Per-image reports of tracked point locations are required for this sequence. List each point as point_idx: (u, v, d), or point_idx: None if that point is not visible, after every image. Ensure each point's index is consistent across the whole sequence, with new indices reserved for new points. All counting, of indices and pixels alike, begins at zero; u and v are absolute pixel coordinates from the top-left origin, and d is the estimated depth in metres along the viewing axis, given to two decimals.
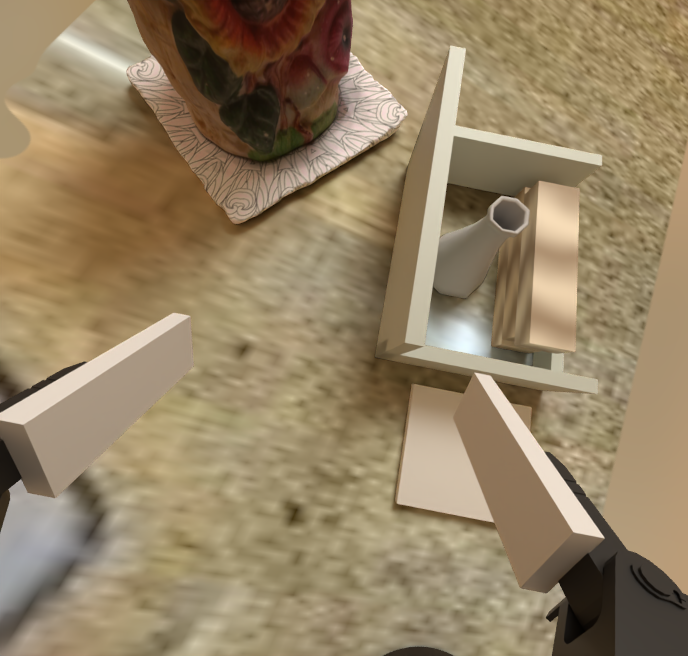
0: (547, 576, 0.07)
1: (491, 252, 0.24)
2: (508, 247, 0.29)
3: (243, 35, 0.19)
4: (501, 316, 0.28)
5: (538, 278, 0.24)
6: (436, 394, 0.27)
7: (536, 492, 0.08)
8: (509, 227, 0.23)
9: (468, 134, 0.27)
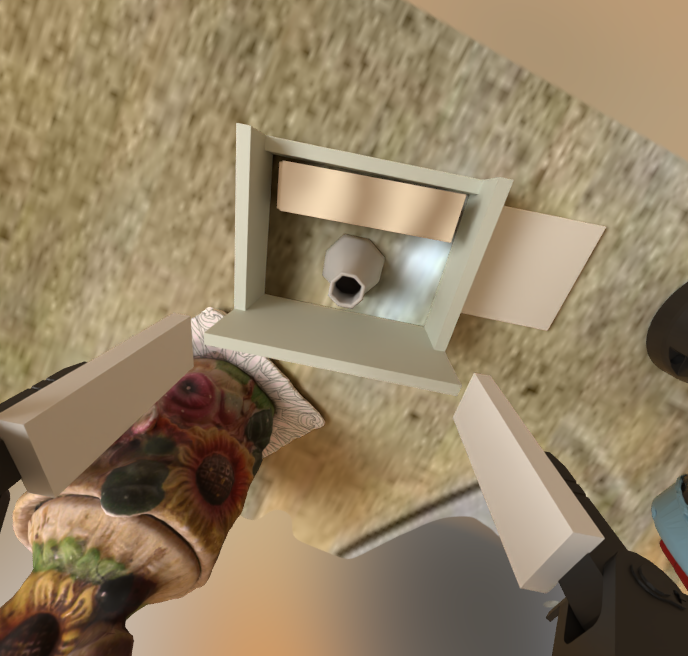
0: (548, 576, 0.07)
1: (365, 278, 0.26)
2: None
3: (241, 469, 0.30)
4: None
5: (387, 225, 0.25)
6: (470, 294, 0.32)
7: (536, 492, 0.08)
8: (346, 271, 0.25)
9: (241, 280, 0.28)
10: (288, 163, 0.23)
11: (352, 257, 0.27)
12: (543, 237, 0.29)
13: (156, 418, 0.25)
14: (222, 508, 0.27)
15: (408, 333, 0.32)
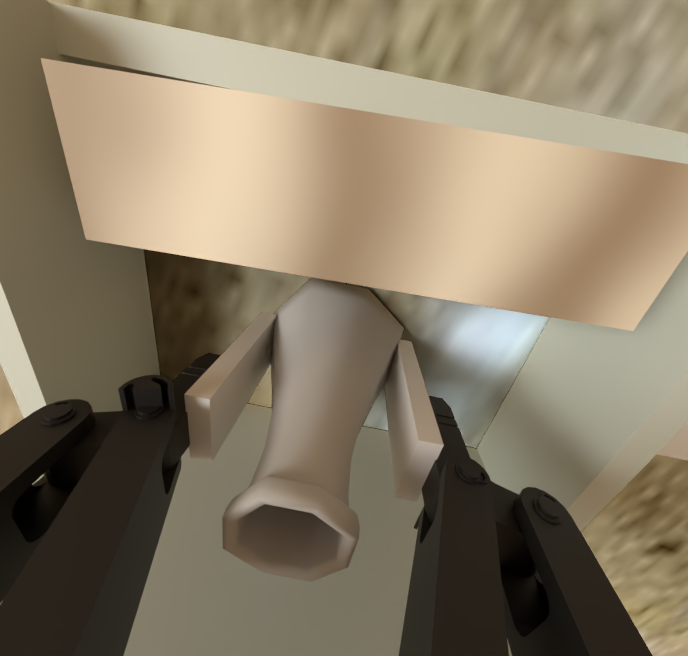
0: (412, 484, 0.09)
1: (358, 432, 0.09)
2: None
3: None
4: None
5: (429, 280, 0.08)
6: None
7: (409, 420, 0.09)
8: (296, 437, 0.07)
9: None
10: (64, 69, 0.06)
11: (323, 356, 0.10)
12: None
13: None
14: None
15: None
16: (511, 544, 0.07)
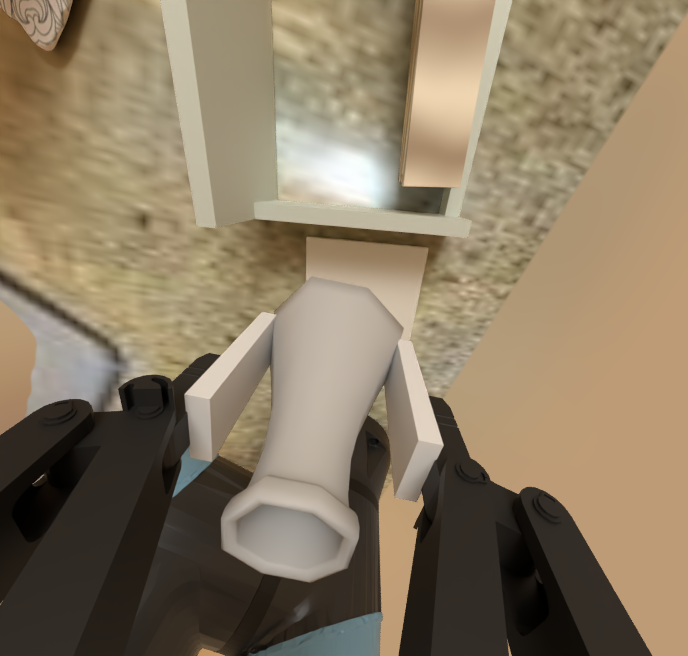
0: (412, 484, 0.09)
1: (357, 432, 0.09)
2: (417, 3, 0.19)
3: None
4: (403, 140, 0.22)
5: (422, 77, 0.17)
6: (329, 245, 0.27)
7: (409, 420, 0.09)
8: (295, 437, 0.07)
9: None
10: None
11: (322, 355, 0.10)
12: (397, 300, 0.29)
13: None
14: None
15: (264, 168, 0.23)
16: (511, 544, 0.07)
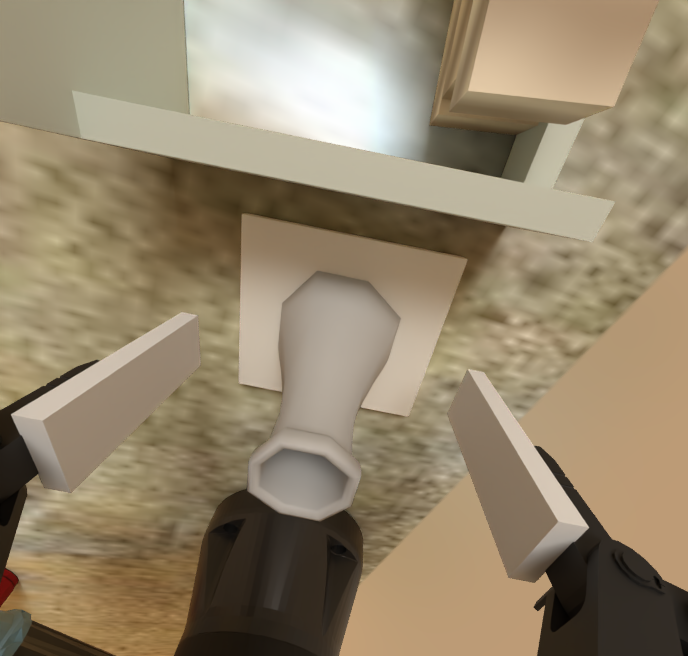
0: (535, 565, 0.07)
1: (359, 403, 0.10)
2: None
3: None
4: (456, 18, 0.10)
5: None
6: (285, 234, 0.14)
7: (524, 484, 0.08)
8: (307, 402, 0.09)
9: None
10: None
11: (328, 338, 0.11)
12: (399, 343, 0.17)
13: None
14: None
15: (132, 32, 0.10)
16: None
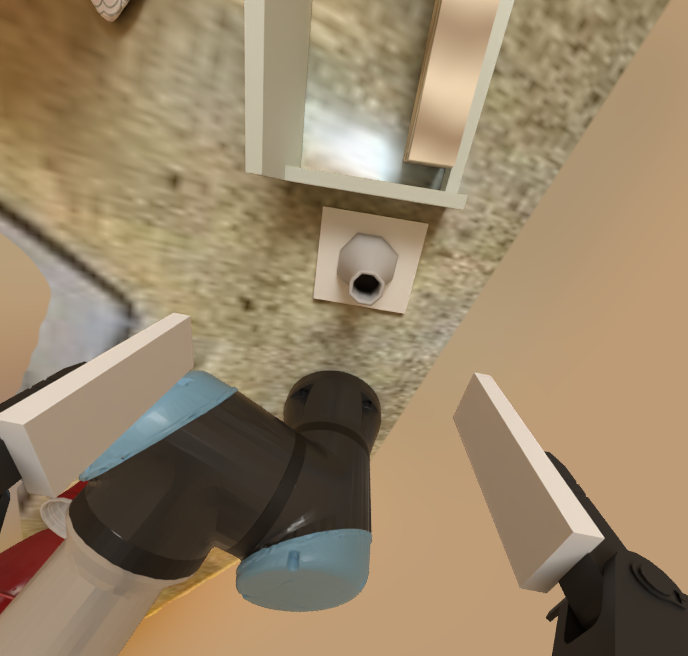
0: (547, 575, 0.07)
1: (382, 275, 0.27)
2: (434, 12, 0.23)
3: None
4: (411, 124, 0.26)
5: (433, 70, 0.21)
6: (343, 215, 0.31)
7: (536, 492, 0.08)
8: (364, 269, 0.25)
9: None
10: None
11: (368, 255, 0.28)
12: (398, 269, 0.33)
13: None
14: None
15: (294, 139, 0.26)
16: None
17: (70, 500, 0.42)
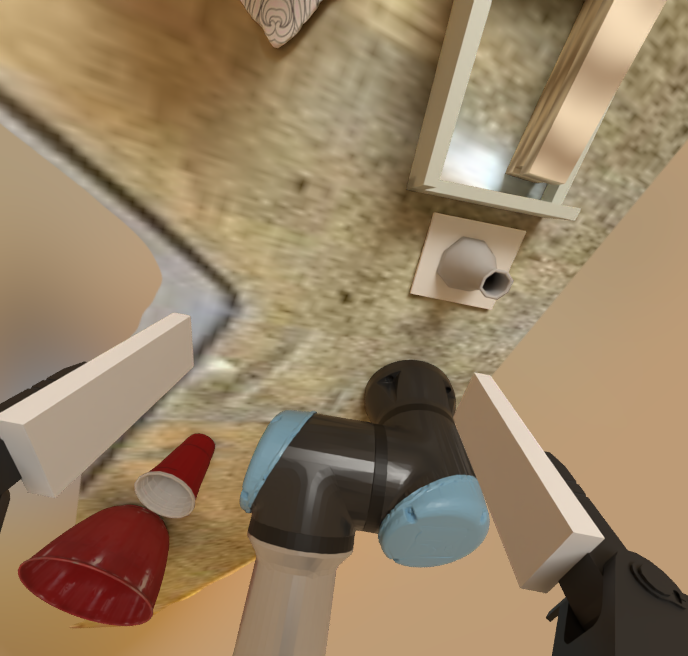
0: (547, 575, 0.07)
1: (498, 274, 0.31)
2: (567, 53, 0.27)
3: None
4: (524, 143, 0.31)
5: (568, 102, 0.26)
6: (451, 221, 0.35)
7: (536, 492, 0.08)
8: (489, 268, 0.29)
9: None
10: None
11: (482, 256, 0.32)
12: None
13: None
14: None
15: None
16: None
17: (167, 474, 0.45)
